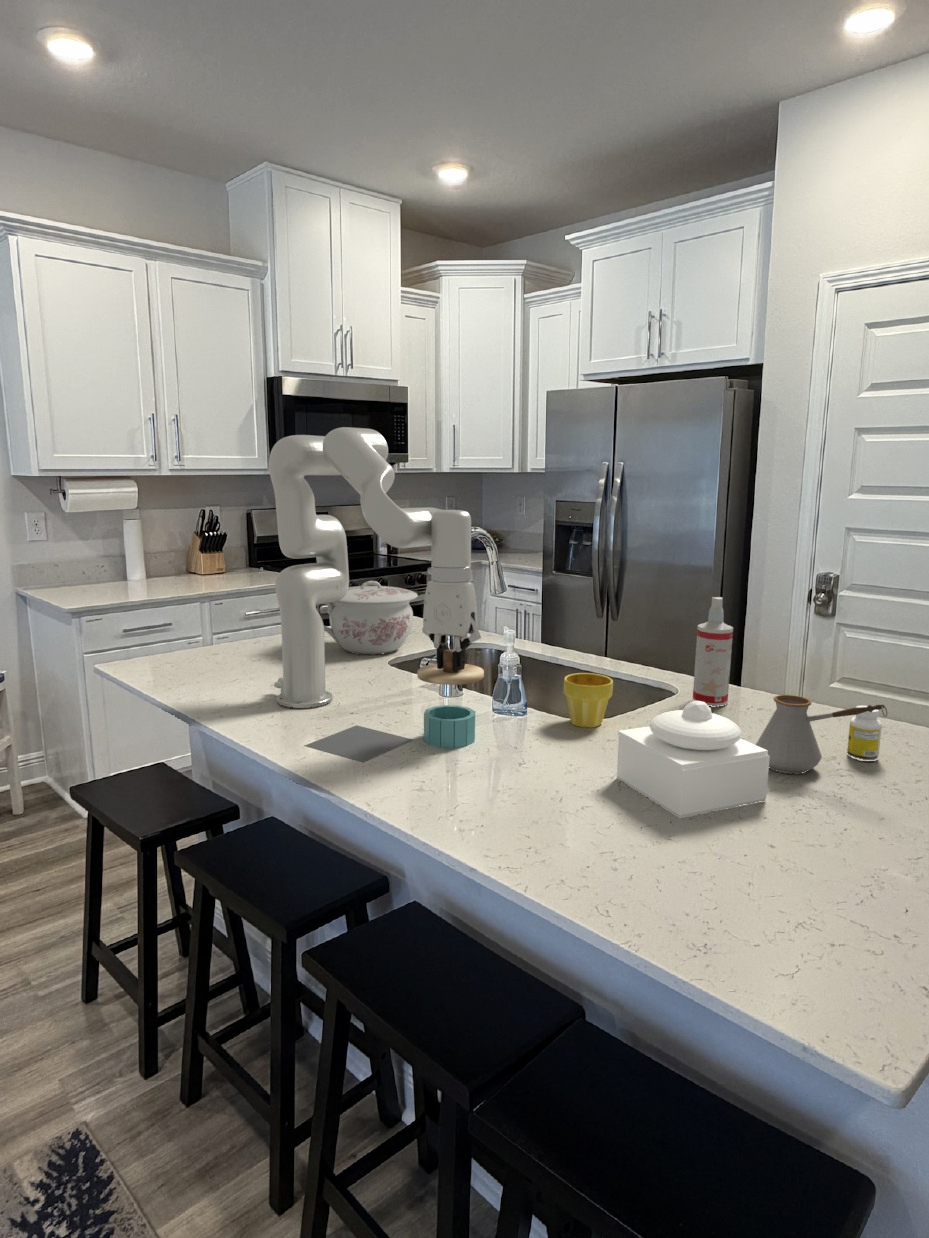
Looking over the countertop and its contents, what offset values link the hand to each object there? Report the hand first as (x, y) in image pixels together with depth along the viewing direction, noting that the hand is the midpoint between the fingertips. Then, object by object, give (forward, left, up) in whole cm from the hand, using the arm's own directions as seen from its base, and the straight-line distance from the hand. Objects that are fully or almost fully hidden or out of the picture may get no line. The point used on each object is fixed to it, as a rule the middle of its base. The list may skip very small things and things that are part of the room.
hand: (450, 668), depth 155 cm
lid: (0, 0, -2) cm, 2 cm away
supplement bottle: (+69, +39, -15) cm, 81 cm away
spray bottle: (+34, +58, -15) cm, 69 cm away
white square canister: (+46, +5, -16) cm, 49 cm away
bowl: (0, 0, -15) cm, 15 cm away
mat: (-13, -12, -15) cm, 23 cm away
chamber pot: (-65, +52, -15) cm, 85 cm away
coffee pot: (+63, +25, -15) cm, 69 cm away
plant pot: (+17, +27, -15) cm, 35 cm away
